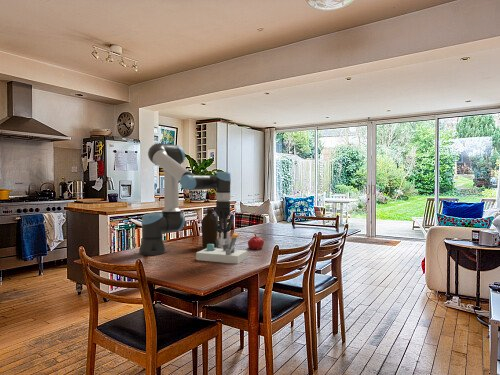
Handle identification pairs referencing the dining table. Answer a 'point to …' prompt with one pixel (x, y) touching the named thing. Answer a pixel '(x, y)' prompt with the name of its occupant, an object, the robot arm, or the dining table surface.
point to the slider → (225, 246)
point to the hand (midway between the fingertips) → (222, 244)
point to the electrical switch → (218, 242)
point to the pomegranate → (255, 242)
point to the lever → (233, 241)
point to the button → (210, 247)
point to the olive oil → (208, 229)
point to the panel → (222, 255)
